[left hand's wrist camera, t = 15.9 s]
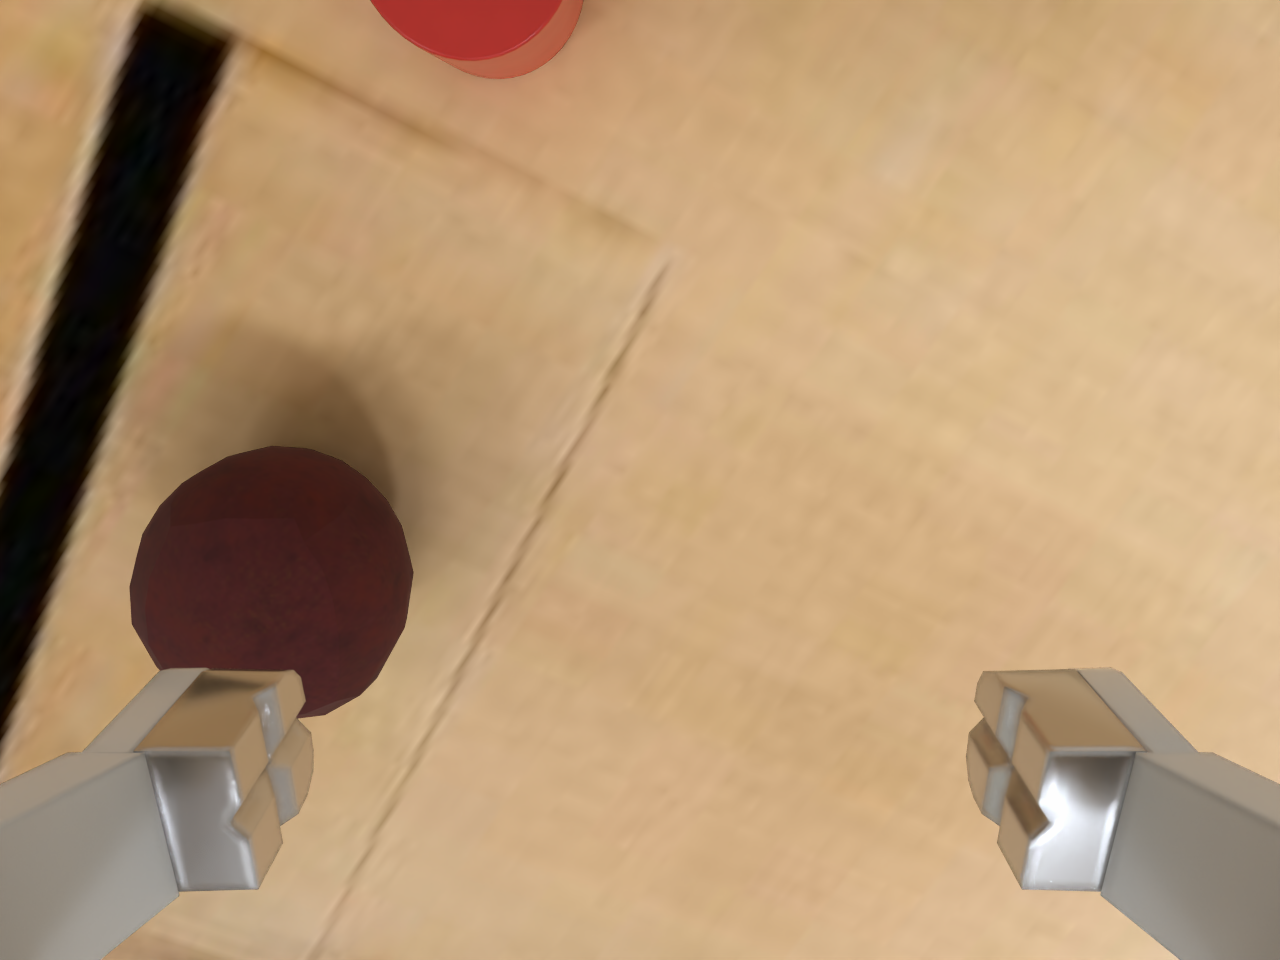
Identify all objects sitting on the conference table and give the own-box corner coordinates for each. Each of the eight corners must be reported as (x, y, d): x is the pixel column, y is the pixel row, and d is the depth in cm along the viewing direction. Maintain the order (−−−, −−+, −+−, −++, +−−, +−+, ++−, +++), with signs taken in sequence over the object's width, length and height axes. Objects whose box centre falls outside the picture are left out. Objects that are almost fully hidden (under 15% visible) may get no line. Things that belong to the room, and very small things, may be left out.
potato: (421, 412, 26) (351, 499, 19) (448, 634, 28) (395, 778, 22) (176, 419, 26) (22, 509, 19) (227, 642, 28) (108, 788, 22)
